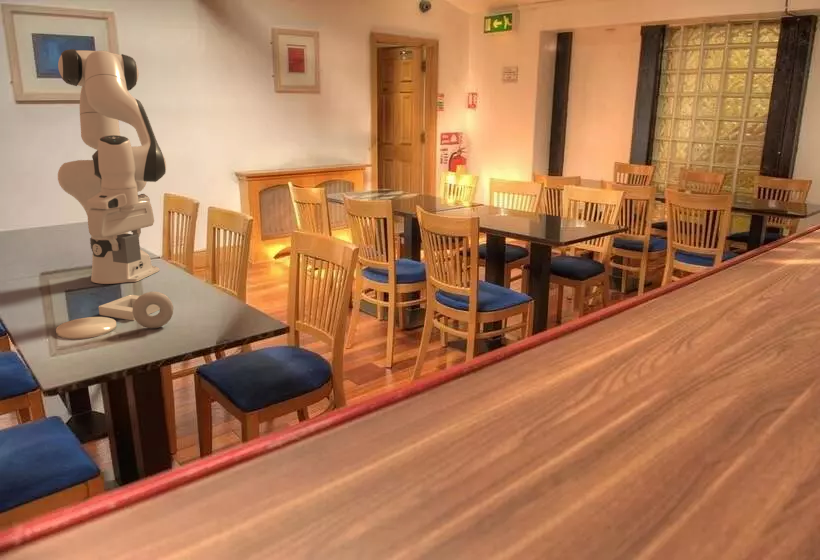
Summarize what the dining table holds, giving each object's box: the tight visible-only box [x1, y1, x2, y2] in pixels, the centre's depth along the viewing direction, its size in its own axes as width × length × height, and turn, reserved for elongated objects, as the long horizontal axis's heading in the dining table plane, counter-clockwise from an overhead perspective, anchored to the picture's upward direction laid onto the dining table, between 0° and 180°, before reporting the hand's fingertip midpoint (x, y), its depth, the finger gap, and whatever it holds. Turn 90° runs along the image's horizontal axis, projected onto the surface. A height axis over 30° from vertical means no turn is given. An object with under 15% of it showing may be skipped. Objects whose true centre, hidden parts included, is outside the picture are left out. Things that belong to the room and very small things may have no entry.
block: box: [111, 233, 141, 264], centre depth 175 cm, size 5×5×7 cm
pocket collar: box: [98, 294, 160, 321], centre depth 180 cm, size 12×12×2 cm
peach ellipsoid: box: [55, 316, 117, 340], centre depth 165 cm, size 14×14×1 cm
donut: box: [132, 291, 174, 329], centre depth 166 cm, size 10×4×10 cm, turn 114°
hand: (125, 247), depth 175 cm, fingers closed on block, 5 cm apart
